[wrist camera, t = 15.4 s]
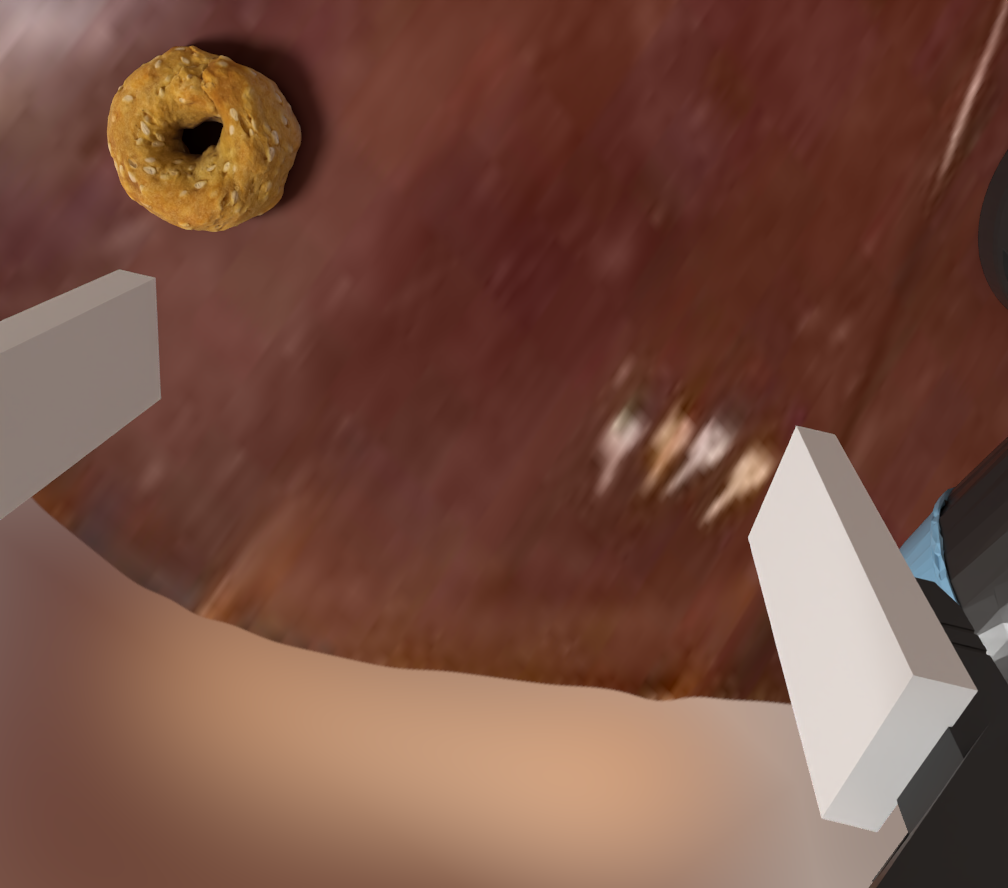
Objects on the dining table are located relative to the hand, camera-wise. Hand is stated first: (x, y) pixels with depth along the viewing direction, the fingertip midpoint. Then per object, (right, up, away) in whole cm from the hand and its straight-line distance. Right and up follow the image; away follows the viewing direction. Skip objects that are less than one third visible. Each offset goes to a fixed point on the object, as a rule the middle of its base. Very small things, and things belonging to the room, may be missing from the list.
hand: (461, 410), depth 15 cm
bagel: (-16, +18, +30) cm, 38 cm away
